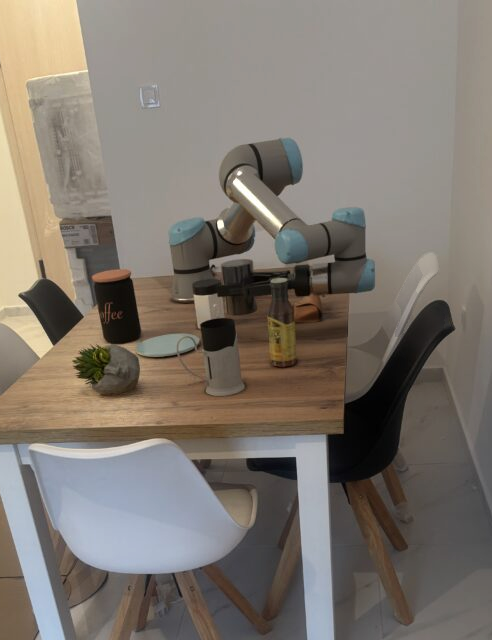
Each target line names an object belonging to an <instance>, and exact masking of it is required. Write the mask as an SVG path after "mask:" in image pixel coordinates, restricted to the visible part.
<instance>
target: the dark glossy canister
mask: <svg viewBox="0 0 492 640" xmlns="http://www.w3.org/2000/svg"><path fill="white" fill-rule="evenodd" d="M220 270H221V272H220V273H221V280H222V281H221V282H222V285H228V284H242V282H245V284H251V283H255V278H254V272H255V268H254V261H253V259H248V258H239V259H238V258H237V259H232V260H227V261H224V262H222V263H220ZM249 292H250V291H249ZM223 298H224V305H225V306H224V308H225V314H226V315H228V316H232V317H233V316H234V317H235V316H236V317H238V316H247V315H250V314H254V313H256V312H257V311H258V300H257V299H258V298H257V296H256V297H248V298H245V296H243V295H241V296H227V297H223Z"/></svg>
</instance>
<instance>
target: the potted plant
mask: <svg viewBox="0 0 492 640" xmlns="http://www.w3.org/2000/svg"><path fill="white" fill-rule="evenodd" d="M89 346H90V347H91V348H90V347H86V348H85V347H82V349H80V350H78V352H77V353H76V354H78V355H80V356H74V359H73V360H71V362H72V363H73V364H72V367H73V368H72V369H73V370H75V371H77V372H74V373H73V374H75V375H74V377H76V379H81V380H85V381H84V385H89V386H91V389H92V390H93V391H94V392H96V393H97V394H98V395H100V396H102V397H103V396H112V395H117V394H122V393H124V392H127V391H130V390H133V389H135V388H136V386H137V385H138V382H139V380H140V374H141V367H140V366H141V365H140V359H139V357H138V356H137V355H136V354H135V353H134V352H132V351H130V350H129V349H127V348H126V347H124V346H120V345H118V344H108V345H105V346H101V345H98V344H97V343H95V346H93V345H92V344H89Z"/></svg>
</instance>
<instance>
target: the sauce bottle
mask: <svg viewBox="0 0 492 640" xmlns="http://www.w3.org/2000/svg"><path fill="white" fill-rule="evenodd" d="M270 287H271V293H272V295H271V301H270V305H269V309H268V313H267V329H268V330H267V331H268V345H269V347H268V348H269V359H270V362H271V365H272V366H274V367H278V368H286V367H287V368H288V367H290V366H293V365H295V364H296V362H297V341H296V337H297V336H296V322H295V320H294V308H293V304H292V303H291V301H290V300H289V290H288V279H286V278H275V279H272V280H271V281H270Z"/></svg>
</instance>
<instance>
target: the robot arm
mask: <svg viewBox="0 0 492 640" xmlns="http://www.w3.org/2000/svg"><path fill="white" fill-rule="evenodd" d="M303 167H304V165H303V157H302V153H301V150H300V147H299V145H298V143H297V142H296V141H295V140H294V139H293V138H292V137H283V138H282V137H279V138H277V139H271V140H264V141H259V142H252V143H244V144H239V145H237V146H235V147H233V148H232V149H230V150H229V151H228V152H227V153H226V155H225V156H224V157H223V159H222V161H221V163H220V167H219V170H218V181H219V185H220V187H221V190H222V192H223V193H224V194H225V196H226V197H227V198H228V199H229V200H230V201H231V202H232V203H231V204H230V206H229V207H226V208H224V209H223V210H222V211H221V212H220V213H219V214H218V216H217V217H216V218H215V219H210V220H205V219H204V218H203V217H200V216H199V217H198V216H197V217H192V218H186V219H183V220H181V221H180V220H179V221H177V222H176V223H174V224H172V225H171V226H169V228H168V245H169V250H170V256H171V262H172V269H173V279H172V287H171V292H170V293H171V301H172V302H175V303H179V304H192V303H194V304H195V302H194V294H193V290H192V284H193V283H194V282H196V281H200V280H205V279H215V278H214V275H215V272H214V271H213V269H215V268H216V265H215V264H211V266H210V261H211V260H216V259H220V258H221V259H222V258H226V257H230V256H234V255H241V254H244V253H247V252H249V251H250V250H251V249H252V248H253V246H254V244H255V241H256V240H255V238H256V228H255V224H254V223H255V222H257V223H258V224H259V225H260V226H261V227H263V229H264V230H265V231H266V232H267V233H268V234H269V235H270V236H271V237H272V238H273V239H274V251H275V254H276V255H277V259H278V260H279V261H280V263H282V264H284V265H291V264H296V265H295V266H293V267H294V268H293V273H291V270H290V269H286V270H279V271H278V270H276V271H275V270H274V271H254V278H255V283H251V284H245V282H242V284H228V285H223V284H221V285H217V286H216V288H217V296H218V297H222V298H224V297H227V296H241V295H243V296H245V298H248V297H256V298H257V297H264V296H272V293H271V287H270V281H271V280H272V279H275V278H286V279H288V291H290V290H294V295H295V296H296V297H298V298H300V297H303V298H304V297H305V296H310V295H311V293H313V295H319V296H321V297H322V298H325V297H326V296H328V295H339V294H340V295H341V294H359V293H366V292H372V291H373V290H374V289H375V286H376V262H375V260H374V259H372V258H367V253H366V252H367V251H366V229H367V224H366V217H365V216H366V215H365V211H364V209H363V208H361V207H358V206H350V207H349V206H348V207H342V208H338V209H334V211H333V212H332V216H331V220H328V221H325V222H324V221H323V222H319V223H314V224H307V223H306V222H305V221H303V220H302V219H301V218H300V217H299V216H298V215H297V214H296V213H295V212H294V211H293V210H292V209H291V207H289V206H288V205H287V204H286V203H285V202H284V201H283V200H282V199H281V198H280V197H279V196H280V195H281V194H282V192H283V191H284V189H286V188H287V186H290V185H291V186H294V185H296V184H298V183H300V182H301V180H302V178H303V173H304V172H303V171H304V168H303ZM330 256H333V258H334V259H333V260H334V261H333V262H332V261H331V262H317V263H312V264H311V265H310V264H308V263H307V264H305V263H304V264H300V263H303V262H307V261H311V260H315V259H316V260H317V259H320V258H325V257H330ZM249 291H250V292H249Z"/></svg>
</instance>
